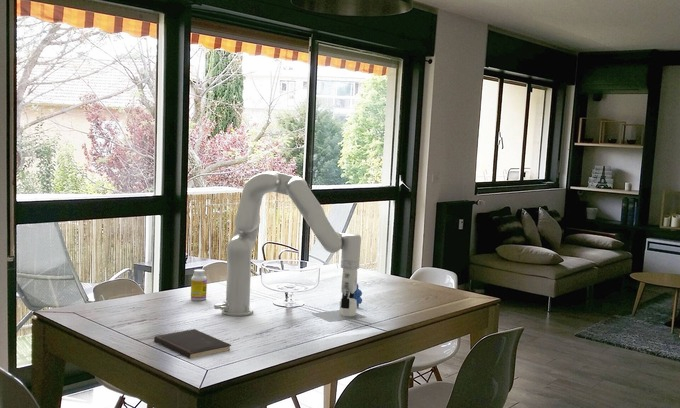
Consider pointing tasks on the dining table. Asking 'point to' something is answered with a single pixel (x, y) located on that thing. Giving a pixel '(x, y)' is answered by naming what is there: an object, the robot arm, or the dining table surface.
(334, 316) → the board
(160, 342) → the hardcover book
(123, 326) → the dining table surface
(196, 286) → the supplement bottle
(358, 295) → the grapes
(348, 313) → the cap
